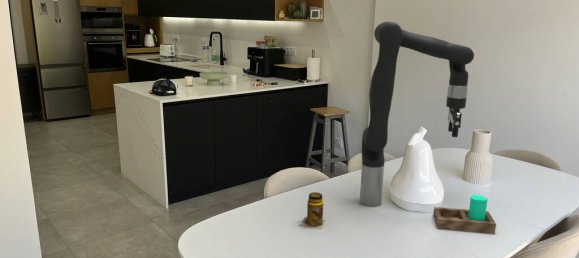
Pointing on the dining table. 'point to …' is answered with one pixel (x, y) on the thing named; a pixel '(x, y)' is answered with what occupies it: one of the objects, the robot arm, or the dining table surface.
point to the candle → (477, 208)
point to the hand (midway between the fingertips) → (452, 134)
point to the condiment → (314, 211)
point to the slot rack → (462, 221)
